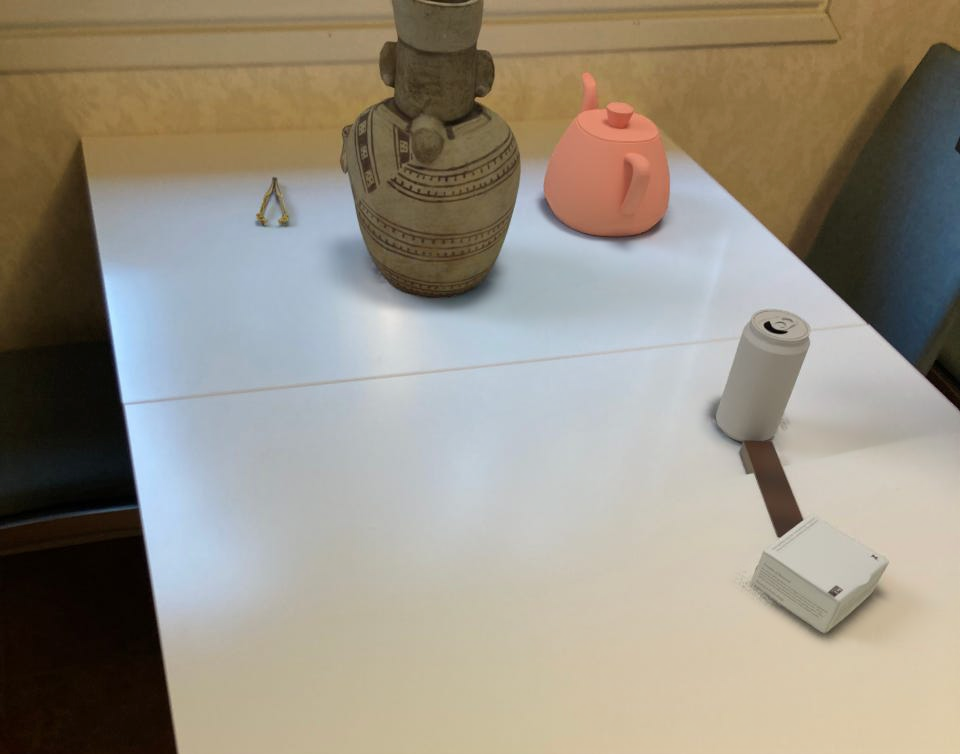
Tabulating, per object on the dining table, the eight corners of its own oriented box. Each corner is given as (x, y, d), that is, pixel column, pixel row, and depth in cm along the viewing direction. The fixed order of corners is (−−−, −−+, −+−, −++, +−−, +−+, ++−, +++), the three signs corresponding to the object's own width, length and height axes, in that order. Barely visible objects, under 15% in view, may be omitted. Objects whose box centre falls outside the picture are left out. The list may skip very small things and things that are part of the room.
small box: (794, 553, 84) (814, 510, 81) (869, 602, 81) (893, 560, 77) (743, 592, 81) (761, 549, 77) (819, 645, 77) (842, 603, 73)
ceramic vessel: (397, 216, 122) (399, -63, 99) (537, 267, 116) (573, -19, 93) (307, 272, 111) (286, -28, 88) (456, 332, 105) (475, 25, 82)
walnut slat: (804, 548, 85) (810, 536, 84) (773, 547, 85) (778, 535, 84) (767, 452, 94) (772, 440, 93) (739, 451, 94) (743, 439, 93)
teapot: (518, 171, 134) (528, 67, 124) (626, 169, 138) (645, 67, 127) (569, 255, 118) (586, 144, 108) (690, 250, 122) (717, 142, 112)
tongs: (284, 182, 126) (283, 167, 125) (291, 231, 118) (290, 216, 117) (252, 183, 125) (251, 167, 124) (257, 232, 118) (256, 216, 116)
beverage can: (701, 424, 96) (733, 318, 87) (738, 403, 100) (773, 298, 91) (750, 455, 94) (789, 349, 85) (787, 432, 97) (828, 327, 88)
